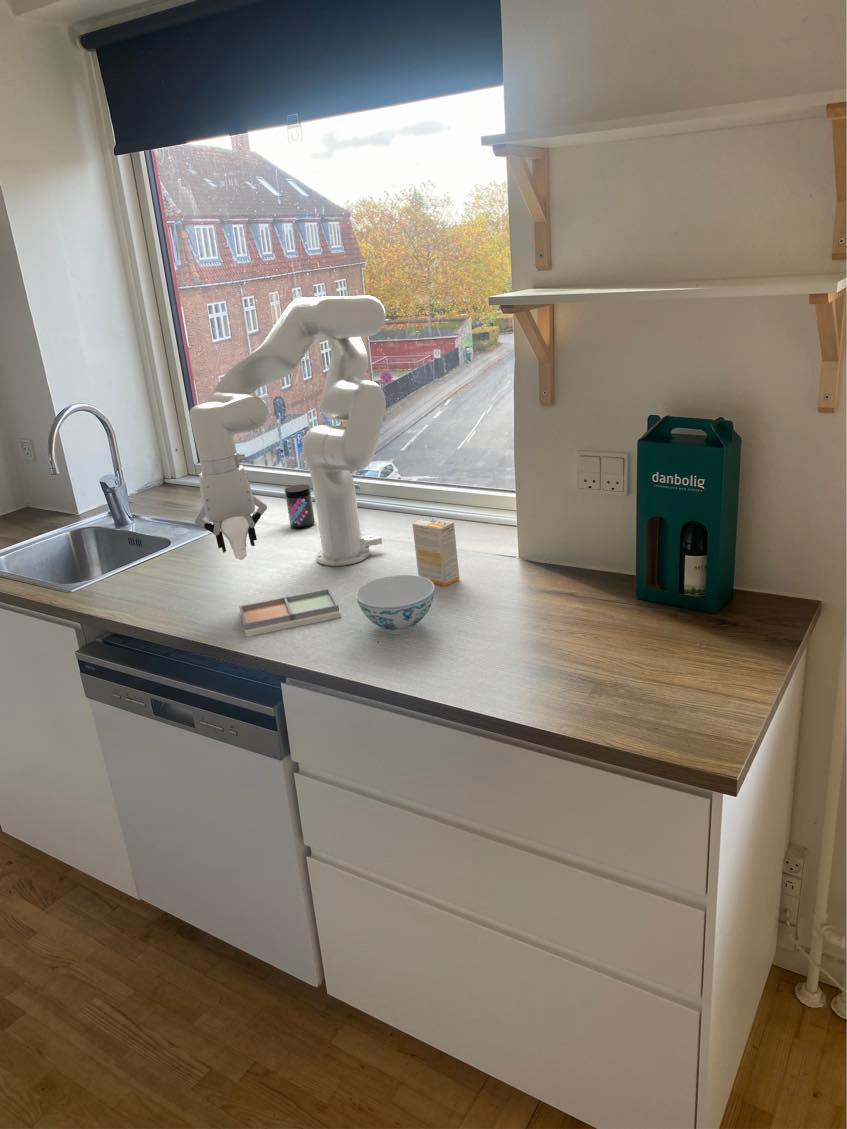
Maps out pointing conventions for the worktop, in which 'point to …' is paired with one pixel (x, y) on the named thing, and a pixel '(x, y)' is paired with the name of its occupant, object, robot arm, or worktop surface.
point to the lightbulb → (236, 534)
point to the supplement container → (300, 506)
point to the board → (289, 612)
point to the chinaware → (396, 601)
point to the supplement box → (436, 550)
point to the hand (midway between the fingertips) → (238, 546)
